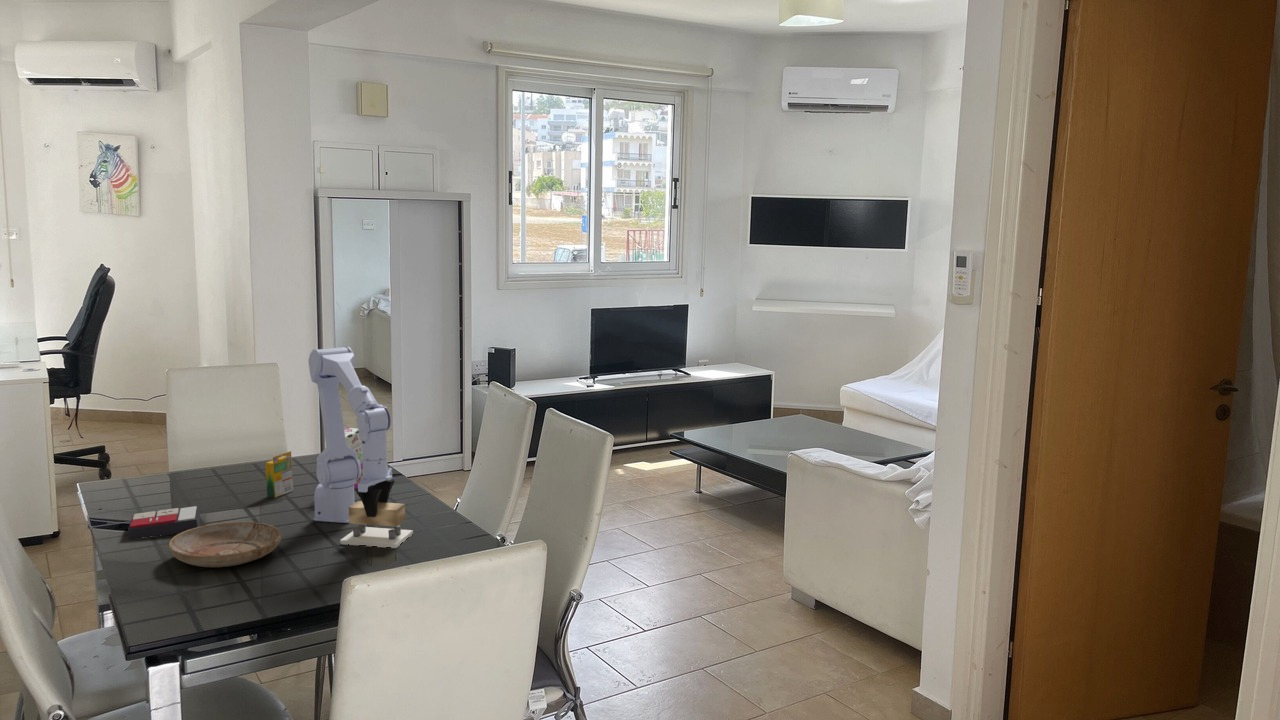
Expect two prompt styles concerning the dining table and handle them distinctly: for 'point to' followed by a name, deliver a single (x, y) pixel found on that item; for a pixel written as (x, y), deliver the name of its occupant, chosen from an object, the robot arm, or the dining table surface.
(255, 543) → the ceramic bowl
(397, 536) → the peg stand
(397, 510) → the tan rectangular block
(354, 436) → the candy bar box
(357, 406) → the robot arm
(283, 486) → the crayon box
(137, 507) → the dining table surface
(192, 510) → the black box with panels
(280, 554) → the dining table surface
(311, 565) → the dining table surface
